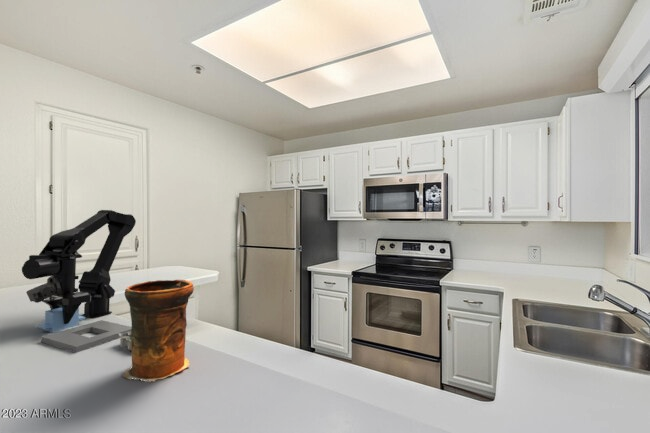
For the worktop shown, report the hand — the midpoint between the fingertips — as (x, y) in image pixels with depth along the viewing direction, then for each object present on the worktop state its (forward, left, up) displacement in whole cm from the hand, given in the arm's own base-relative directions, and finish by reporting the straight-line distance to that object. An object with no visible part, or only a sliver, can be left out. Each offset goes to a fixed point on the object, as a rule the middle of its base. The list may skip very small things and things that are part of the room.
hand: (62, 322), depth 97 cm
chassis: (+1, +16, -2) cm, 16 cm away
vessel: (+6, +50, -2) cm, 50 cm away
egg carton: (-1, +34, -2) cm, 34 cm away
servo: (0, 0, -2) cm, 2 cm away
